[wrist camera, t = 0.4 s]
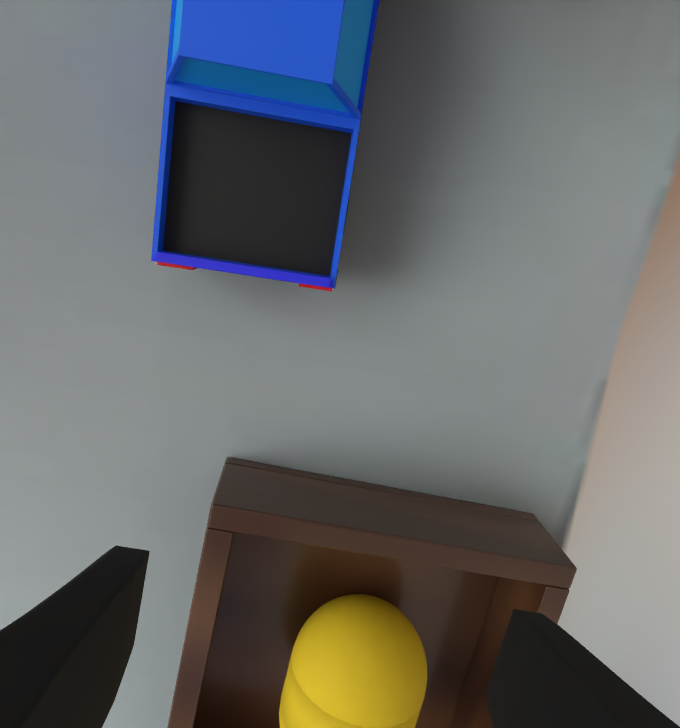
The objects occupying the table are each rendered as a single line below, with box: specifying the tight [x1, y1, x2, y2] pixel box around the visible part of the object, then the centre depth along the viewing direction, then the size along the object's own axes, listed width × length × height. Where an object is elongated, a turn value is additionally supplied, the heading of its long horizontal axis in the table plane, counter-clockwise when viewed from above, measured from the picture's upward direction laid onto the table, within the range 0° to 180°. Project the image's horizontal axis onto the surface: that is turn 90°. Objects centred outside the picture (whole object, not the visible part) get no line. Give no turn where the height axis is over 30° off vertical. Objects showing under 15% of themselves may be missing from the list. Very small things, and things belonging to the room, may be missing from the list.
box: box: [168, 457, 576, 728], centre depth 20 cm, size 13×12×4 cm
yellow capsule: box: [279, 594, 427, 728], centre depth 19 cm, size 6×5×5 cm
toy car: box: [151, 0, 379, 291], centre depth 14 cm, size 7×12×5 cm, turn 171°
